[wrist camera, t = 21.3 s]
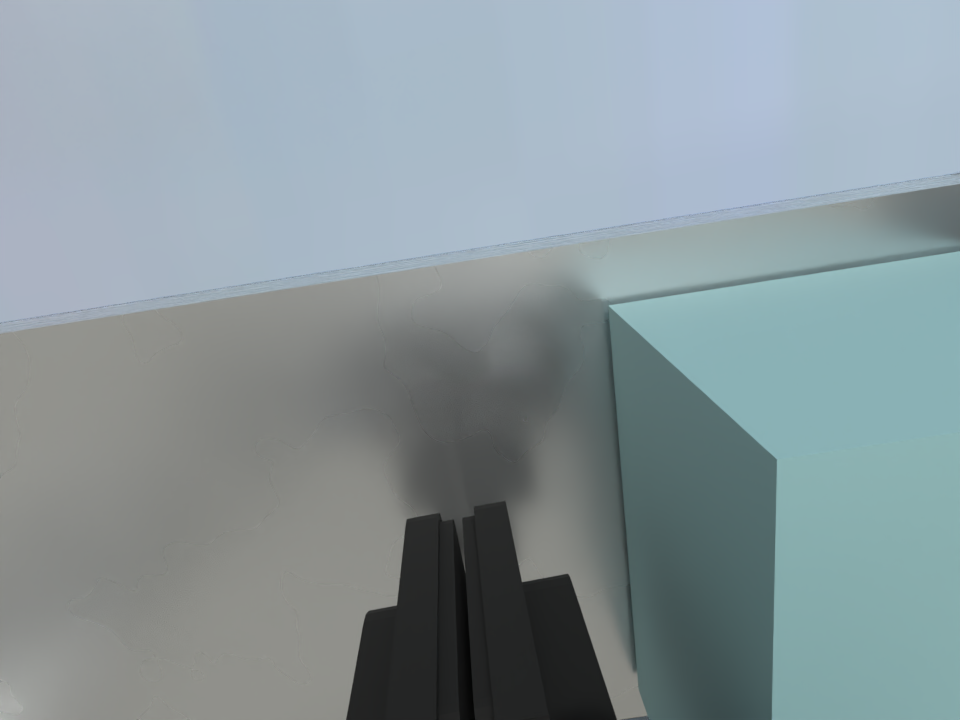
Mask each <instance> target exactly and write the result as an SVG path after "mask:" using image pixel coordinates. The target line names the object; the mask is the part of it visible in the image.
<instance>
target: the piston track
mask: <svg viewBox="0 0 960 720" xmlns="http://www.w3.org/2000/svg"><path fill="white" fill-rule="evenodd" d="M958 251H960V173H958V174H951V175H945V176H939V177H932V178H926V179H919V180H913V181H907V182H900V183H894V184H887V185H881V186H875V187H868V188H862V189H855V190H849V191H843V192H836V193H830V194H823V195H817V196H811V197H804V198H798V199H791V200H785V201H779V202H772V203H766V204H759V205H753V206H747V207H740V208H734V209H727V210H721V211H715V212H708V213H702V214H695V215H689V216H683V217H676V218H670V219H663V220H657V221H651V222H644V223H638V224H631V225H625V226H619V227H612V228H606V229H599V230H593V231H587V232H580V233H574V234H567V235H561V236H555V237H548V238H542V239H535V240H529V241H523V242H516V243H510V244H503V245H497V246H491V247H484V248H478V249H471V250H465V251H459V252H452V253H446V254H439V255H433V256H427V257H420V258H414V259H407V260H401V261H395V262H388V263H382V264H375V265H369V266H363V267H356V268H350V269H343V270H337V271H331V272H324V273H318V274H311V275H305V276H299V277H292V278H286V279H279V280H273V281H267V282H260V283H254V284H247V285H241V286H235V287H228V288H222V289H215V290H209V291H203V292H196V293H190V294H183V295H177V296H171V297H164V298H158V299H151V300H145V301H139V302H132V303H126V304H119V305H113V306H107V307H100V308H94V309H87V310H81V311H74V312H68V313H62V314H55V315H49V316H42V317H36V318H30V319H23V320H17V321H10V322H4V323H0V720H346V717H347V712H348V706H349V701H350V695H351V690H352V684H353V678H354V673H355V667H356V662H357V656H358V651H359V645H360V639H361V634H362V628H363V623H364V619H365V615H366V613H367V612H368V611H370V610H375V609H380V608H386V607H391V606H397V600H398V591H399V582H400V572H401V563H402V554H403V544H404V535H405V526H406V520H407V519H408V518H414V517H419V516H424V515H430V514H435V513H440V515H441V518H442V521H447V520H452V519H453V520H454V522H455V526H456V530H457V535H458V540H459V545H460V549H461V554H462V559H463V563H464V568H465V556H464V540H463V523H462V518H463V517H469V516H474V506H479V505H484V504H490V503H495V502H501V501H506V506H507V510H508V515H509V520H510V525H511V530H512V535H513V540H514V545H515V550H516V555H517V560H518V565H519V570H520V575H521V580H522V582H526V581H531V580H536V579H542V578H547V577H553V576H558V575H563V574H569V576H570V578H571V581H572V584H573V587H574V590H575V593H576V596H577V599H578V602H579V605H580V608H581V611H582V614H583V617H584V620H585V623H586V626H587V629H588V633H589V636H590V639H591V642H592V645H593V648H594V651H595V654H596V657H597V660H598V663H599V666H600V669H601V672H602V675H603V678H604V681H605V684H606V687H607V690H608V693H609V696H610V700H611V703H612V706H613V709H614V712H615V715H616V718H617V720H621V719H628V718H635V717H642V716H648V715H647V712H646V709H645V707H644V704H643V701H642V698H641V695H640V692H639V688H638V676H637V663H636V650H635V638H634V625H633V613H632V600H631V587H630V575H629V562H628V549H627V537H626V524H625V511H624V499H623V486H622V473H621V461H620V448H619V436H618V423H617V410H616V398H615V385H614V372H613V360H612V347H611V334H610V322H609V309H608V306H609V305H615V304H622V303H628V302H635V301H641V300H647V299H654V298H660V297H667V296H673V295H680V294H686V293H693V292H699V291H706V290H712V289H719V288H725V287H732V286H738V285H745V284H751V283H758V282H764V281H771V280H777V279H784V278H790V277H796V276H803V275H809V274H816V273H822V272H829V271H835V270H842V269H848V268H855V267H861V266H868V265H874V264H881V263H887V262H894V261H900V260H907V259H913V258H920V257H926V256H933V255H939V254H945V253H952V252H958ZM465 573H466V572H465Z"/></svg>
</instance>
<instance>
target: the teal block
mask: <svg viewBox="0 0 960 720" xmlns="http://www.w3.org/2000/svg"><path fill="white" fill-rule="evenodd" d="M608 309H609V322H610V334H611V347H612V360H613V372H614V385H615V398H616V410H617V423H618V436H619V448H620V461H621V473H622V486H623V499H624V511H625V524H626V537H627V549H628V562H629V575H630V587H631V600H632V613H633V625H634V638H635V650H636V663H637V676H638V688H639V692H640V695H641V698H642V701H643V704H644V707H645V709H646V712H647V715H648V718H649V720H960V251H958V252H952V253H945V254H939V255H933V256H926V257H920V258H913V259H907V260H900V261H894V262H887V263H881V264H874V265H868V266H861V267H855V268H848V269H842V270H835V271H829V272H822V273H816V274H809V275H803V276H796V277H790V278H784V279H777V280H771V281H764V282H758V283H751V284H745V285H738V286H732V287H725V288H719V289H712V290H706V291H699V292H693V293H686V294H680V295H673V296H667V297H660V298H654V299H647V300H641V301H635V302H628V303H622V304H615V305H609V306H608Z"/></svg>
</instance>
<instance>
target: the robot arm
mask: <svg viewBox="0 0 960 720" xmlns="http://www.w3.org/2000/svg"><path fill="white" fill-rule="evenodd" d="M462 523H463V540H464V556H465V568H464V563H463V559H462V554H461V549H460V545H459V540H458V535H457V530H456V526H455V522H454V520H453V519H452V520H447V521H442V518H441V515H440V513H435V514H430V515H424V516H419V517H414V518H408V519H407V520H406V526H405V535H404V544H403V554H402V563H401V572H400V582H399V591H398V600H397V606H391V607H386V608H380V609H375V610H370V611H368V612H367V613H366V615H365V619H364V623H363V628H362V634H361V639H360V645H359V651H358V656H357V662H356V667H355V673H354V678H353V684H352V690H351V695H350V701H349V706H348V712H347V717H346V720H617V718H616V715H615V712H614V709H613V706H612V703H611V700H610V696H609V693H608V690H607V687H606V684H605V681H604V678H603V675H602V672H601V669H600V666H599V663H598V660H597V657H596V654H595V651H594V648H593V645H592V642H591V639H590V636H589V633H588V629H587V626H586V623H585V620H584V617H583V614H582V611H581V608H580V605H579V602H578V599H577V596H576V593H575V590H574V587H573V584H572V581H571V578H570V576H569V574H563V575H558V576H553V577H547V578H542V579H536V580H531V581H526V582H522V580H521V575H520V570H519V565H518V560H517V555H516V550H515V545H514V540H513V535H512V530H511V525H510V520H509V515H508V510H507V506H506V501H501V502H495V503H490V504H484V505H479V506H474V516H469V517H463V518H462ZM465 572H466V573H465Z"/></svg>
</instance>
